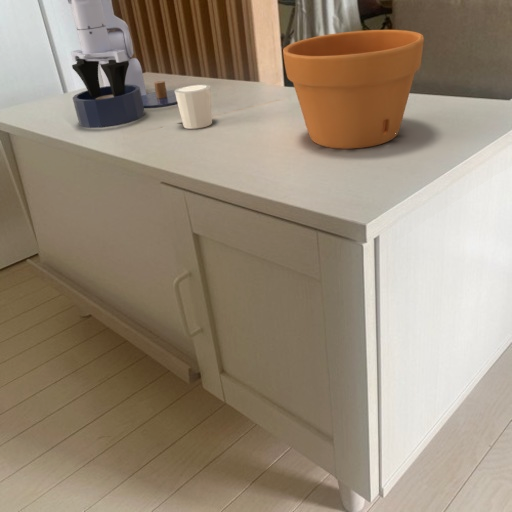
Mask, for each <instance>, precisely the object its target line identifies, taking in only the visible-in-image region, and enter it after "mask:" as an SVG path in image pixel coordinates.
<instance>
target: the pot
mask: <svg viewBox="0 0 512 512" xmlns="http://www.w3.org/2000/svg"><path fill="white" fill-rule="evenodd" d="M100 91H101V95H100V96H97V97H94V98H92V97H91V96H90V94H89V92H88V90H87V89H86V90H84V91H81V92H79V93H77V94H74V95H73V97H72V102H73V105H74V109H75V113H76V116H77V120H78V124H79V126H81V127H82V128H89V129H101V128H110V127H116V126H121V125H126V124H129V123H132V122H134V121H138V120H139V119H141V118H142V117H144V116H145V108H144V106H143V101H142V96H141V91H140V87H138V86H136V85H125V94H124V95H120V96H115V97H110V98H104V99H96V98H98V97H101V96H105V95H113V93H112V90H111V87H110V86H105V87H104V86H100Z"/></svg>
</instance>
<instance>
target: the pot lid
mask: <svg viewBox="0 0 512 512" xmlns="http://www.w3.org/2000/svg"><path fill="white" fill-rule="evenodd" d="M153 84H154V89H155V92H154V91H153V92H150V93H147V94H145V95H142V101H143V106H144V109H153V108H155V109H156V108H163V107H169V106H174V105H178V103H177V99H176V95H175V90H176V89H170V90H169V89H168V90H167V87H166V81H165V80H157V81H154V82H153Z"/></svg>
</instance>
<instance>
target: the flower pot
mask: <svg viewBox="0 0 512 512" xmlns="http://www.w3.org/2000/svg"><path fill="white" fill-rule="evenodd" d="M424 43H425V37H424V35H423V34H422V33H420V32H418V31H411V30H405V29H367V30H366V29H365V30H353V31H344V32H336V33H330V34H324V35H318V36H314V37H310V38H304V39H302V40H301V39H300V40H298V41H295V42H292V43H290V44H287V45H286V46H285V47H284V48H283V50H282V54H283V63H284V67H285V68H284V69H285V73H286V77H287V79H288V80H289V81H290V82H291V83H292V84H293V87H294V90H295V93H296V97H297V100H298V103H299V107H300V110H301V113H302V116H303V120H304V124H305V127H306V130H307V132H308V135H309V138H310V139H311V141H312V142H313V143H315V144H317V145H318V146H322V147H326V148H331V149H341V150H351V149H353V150H354V149H363V148H364V149H365V148H370V147H375V146H379V145H382V144H385V143H387V142H389V141H392V140H393V139H395V138H396V137H397V136H398V134H399V132H400V130H401V125H402V122H403V117H404V115H405V111H406V107H407V103H408V100H409V97H410V96H409V95H410V92H411V90H412V89H411V88H412V86H413V81H414V79H415V74H416V72H418V70H419V69H420V68H421V67H422V58H423V51H424V50H423V49H424ZM395 133H396V134H395Z"/></svg>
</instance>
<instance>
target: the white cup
mask: <svg viewBox="0 0 512 512" xmlns="http://www.w3.org/2000/svg"><path fill="white" fill-rule="evenodd" d="M174 90H175V95H176V99H177V103H178V104H177V106H178V110H179V115H180V118H181V123H182V125H183V128H185V129H188V130H189V129H190V130H195V129H196V130H197V129H201V128H206V127H209V126H211V125H213V112H212V89H211V85H209V84H190V85H185V86H181V87H178V88H175V89H174Z"/></svg>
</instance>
